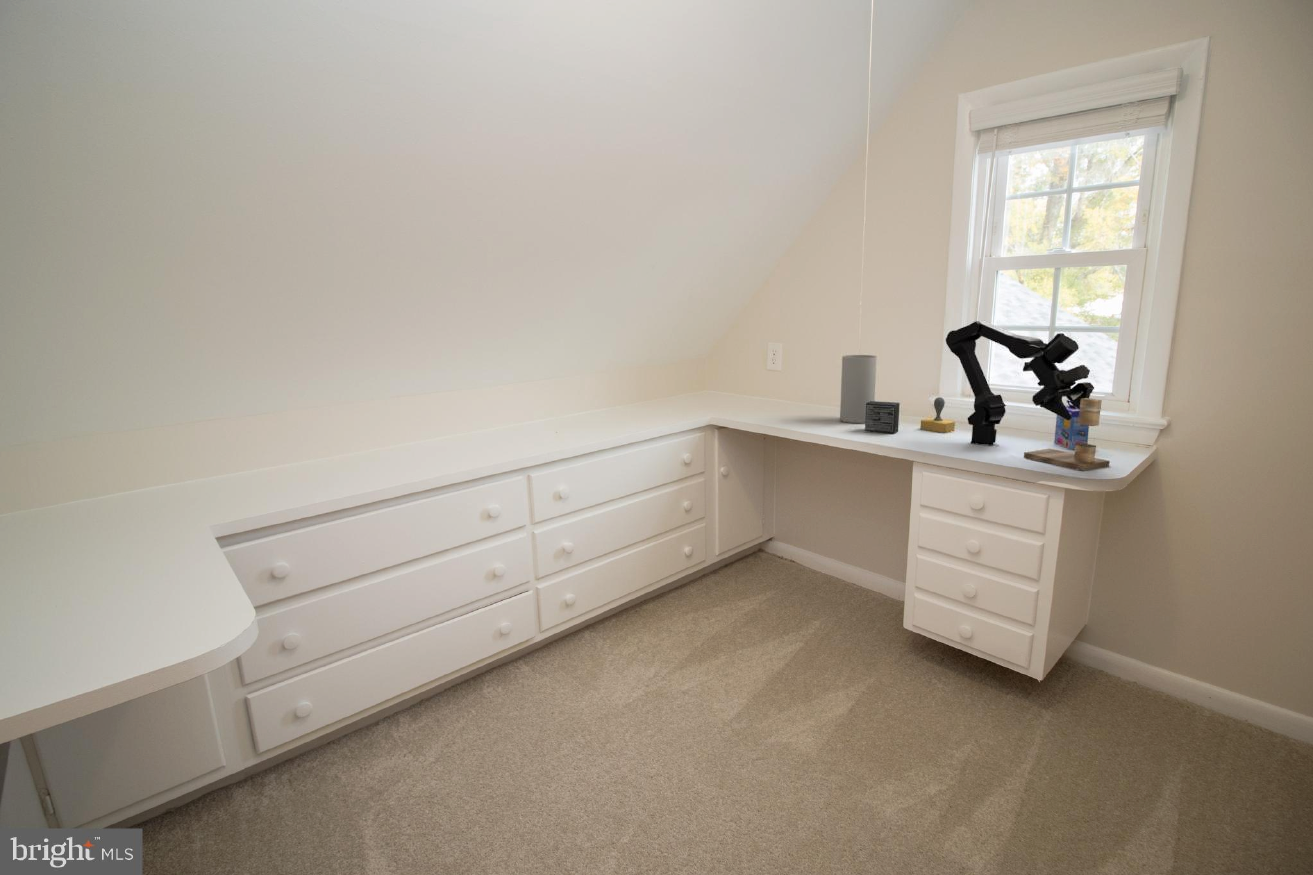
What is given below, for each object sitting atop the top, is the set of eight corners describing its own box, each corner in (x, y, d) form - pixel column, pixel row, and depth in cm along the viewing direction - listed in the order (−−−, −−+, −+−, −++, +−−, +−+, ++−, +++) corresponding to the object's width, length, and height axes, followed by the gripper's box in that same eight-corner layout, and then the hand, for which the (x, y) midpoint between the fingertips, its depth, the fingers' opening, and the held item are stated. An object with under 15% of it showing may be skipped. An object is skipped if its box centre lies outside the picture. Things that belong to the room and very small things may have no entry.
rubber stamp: (954, 431, 229) (957, 397, 226) (945, 433, 225) (947, 399, 223) (929, 427, 237) (931, 394, 234) (919, 429, 233) (921, 396, 231)
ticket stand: (1023, 457, 190) (1025, 437, 189) (1049, 453, 194) (1051, 433, 193) (1082, 471, 174) (1085, 449, 173) (1109, 466, 179) (1111, 444, 177)
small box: (899, 431, 231) (900, 402, 229) (894, 434, 226) (896, 404, 224) (868, 428, 237) (870, 400, 235) (864, 431, 232) (865, 402, 229)
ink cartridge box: (1052, 442, 208) (1057, 398, 205) (1070, 442, 207) (1075, 398, 204) (1068, 449, 198) (1073, 403, 195) (1087, 449, 198) (1093, 402, 195)
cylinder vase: (857, 416, 260) (859, 354, 254) (880, 421, 249) (883, 356, 243) (833, 420, 254) (835, 356, 249) (855, 425, 243) (858, 358, 238)
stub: (1077, 423, 179) (1080, 398, 177) (1083, 423, 180) (1086, 398, 178) (1092, 426, 175) (1095, 400, 174) (1098, 425, 176) (1101, 400, 175)
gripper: (1047, 357, 176) (1081, 403, 169) (1091, 353, 184) (1127, 397, 176) (1018, 382, 185) (1049, 427, 178) (1061, 378, 192) (1094, 421, 185)
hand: (1081, 417), depth 179 cm, fingers open, 9 cm apart
